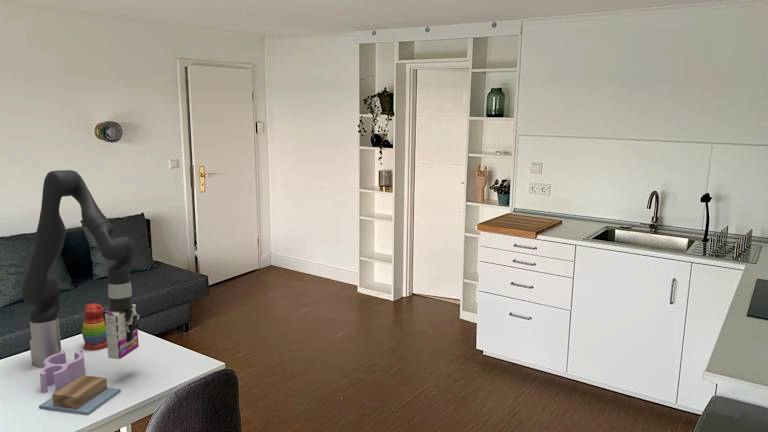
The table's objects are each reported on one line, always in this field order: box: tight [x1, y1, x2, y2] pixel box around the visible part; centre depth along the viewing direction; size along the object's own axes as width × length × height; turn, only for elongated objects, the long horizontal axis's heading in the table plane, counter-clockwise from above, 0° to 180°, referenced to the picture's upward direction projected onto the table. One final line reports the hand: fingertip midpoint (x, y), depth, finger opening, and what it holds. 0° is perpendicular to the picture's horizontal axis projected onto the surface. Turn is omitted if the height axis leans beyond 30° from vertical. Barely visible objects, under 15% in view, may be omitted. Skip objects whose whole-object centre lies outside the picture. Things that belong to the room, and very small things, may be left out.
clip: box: [39, 349, 86, 394], centre depth 209 cm, size 20×12×7 cm, turn 7°
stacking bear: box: [81, 303, 108, 351], centre depth 237 cm, size 11×10×18 cm
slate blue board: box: [38, 386, 122, 416], centre depth 195 cm, size 18×16×1 cm
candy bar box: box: [105, 303, 140, 360], centre depth 208 cm, size 11×5×16 cm, turn 168°
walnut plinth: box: [51, 374, 108, 409], centre depth 195 cm, size 9×14×4 cm, turn 168°
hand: (122, 340), depth 209 cm, fingers closed on candy bar box, 5 cm apart
